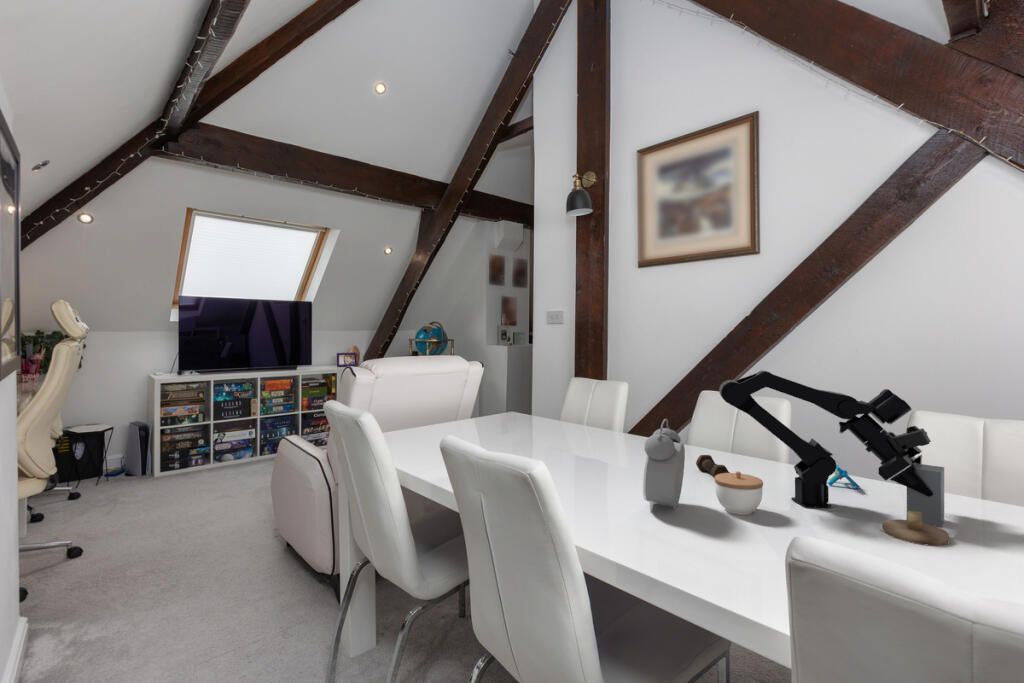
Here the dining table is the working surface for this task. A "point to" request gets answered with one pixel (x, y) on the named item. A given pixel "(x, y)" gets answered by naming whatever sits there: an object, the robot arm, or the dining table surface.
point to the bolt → (710, 465)
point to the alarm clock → (663, 467)
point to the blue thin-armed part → (840, 475)
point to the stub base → (915, 530)
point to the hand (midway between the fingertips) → (933, 492)
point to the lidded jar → (738, 492)
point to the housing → (934, 504)
